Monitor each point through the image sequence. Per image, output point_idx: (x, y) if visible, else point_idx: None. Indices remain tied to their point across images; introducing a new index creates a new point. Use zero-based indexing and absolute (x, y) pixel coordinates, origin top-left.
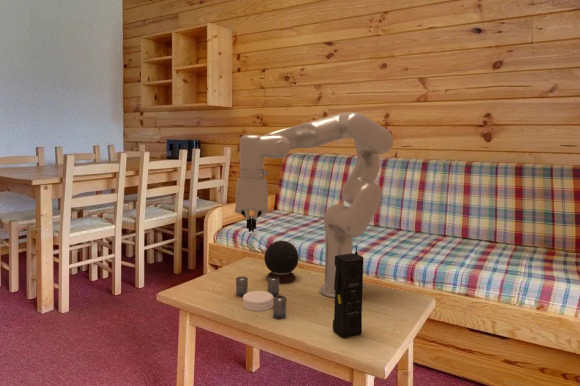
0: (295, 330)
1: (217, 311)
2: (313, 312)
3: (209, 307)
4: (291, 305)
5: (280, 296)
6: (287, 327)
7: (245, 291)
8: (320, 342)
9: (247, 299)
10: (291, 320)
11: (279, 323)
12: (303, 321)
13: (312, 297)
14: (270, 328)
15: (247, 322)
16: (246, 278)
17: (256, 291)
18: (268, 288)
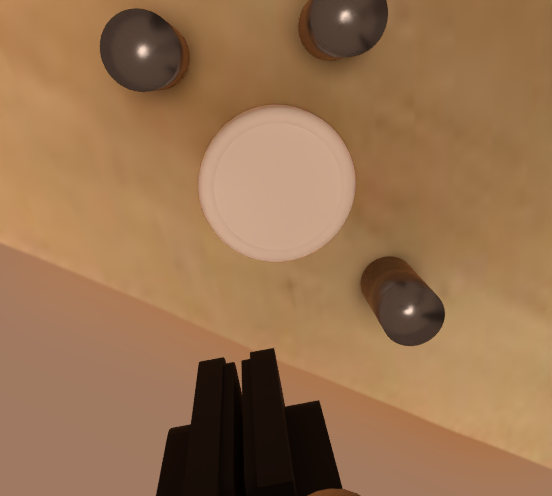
0: (453, 379)
1: (111, 281)
2: (529, 214)
3: (57, 247)
4: (433, 154)
5: (415, 297)
6: (424, 363)
7: (180, 76)
8: (533, 438)
9: (235, 246)
10: None
11: None
12: (484, 305)
13: (540, 26)
14: (362, 382)
15: None
16: (171, 49)
17: (256, 126)
18: (311, 46)
